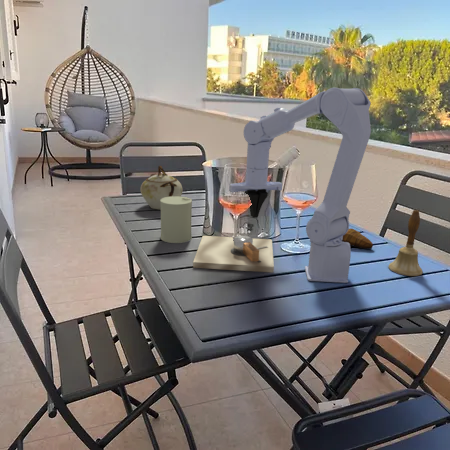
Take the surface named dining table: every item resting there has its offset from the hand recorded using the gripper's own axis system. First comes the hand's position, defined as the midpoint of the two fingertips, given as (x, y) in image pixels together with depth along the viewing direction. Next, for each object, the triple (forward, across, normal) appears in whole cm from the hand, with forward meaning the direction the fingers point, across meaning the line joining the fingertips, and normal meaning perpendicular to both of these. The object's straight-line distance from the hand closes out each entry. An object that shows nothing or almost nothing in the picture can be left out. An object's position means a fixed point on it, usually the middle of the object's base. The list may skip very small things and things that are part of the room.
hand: (254, 216), depth 123 cm
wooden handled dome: (+8, +5, +8) cm, 12 cm away
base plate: (+10, +6, +3) cm, 12 cm away
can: (+10, +18, -14) cm, 25 cm away
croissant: (+10, -30, +3) cm, 32 cm away
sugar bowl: (+10, +16, -48) cm, 52 cm away
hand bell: (+10, -33, +23) cm, 41 cm away
